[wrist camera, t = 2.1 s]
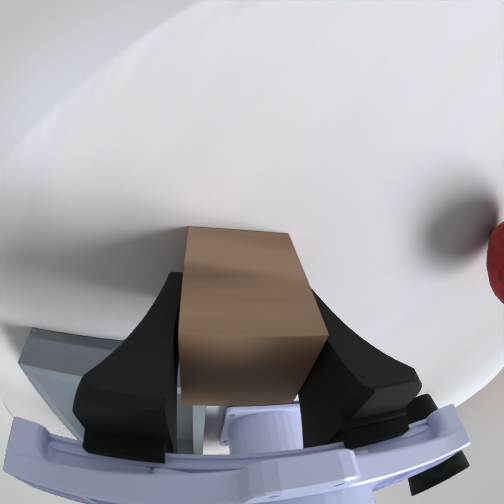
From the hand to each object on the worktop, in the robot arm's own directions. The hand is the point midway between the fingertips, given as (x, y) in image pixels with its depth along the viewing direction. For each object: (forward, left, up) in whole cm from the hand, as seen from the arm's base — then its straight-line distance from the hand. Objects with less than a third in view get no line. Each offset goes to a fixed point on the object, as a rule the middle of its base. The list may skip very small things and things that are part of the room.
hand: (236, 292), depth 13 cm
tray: (-14, +7, -2) cm, 16 cm away
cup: (-21, -25, -2) cm, 33 cm away
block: (0, 0, -2) cm, 2 cm away
